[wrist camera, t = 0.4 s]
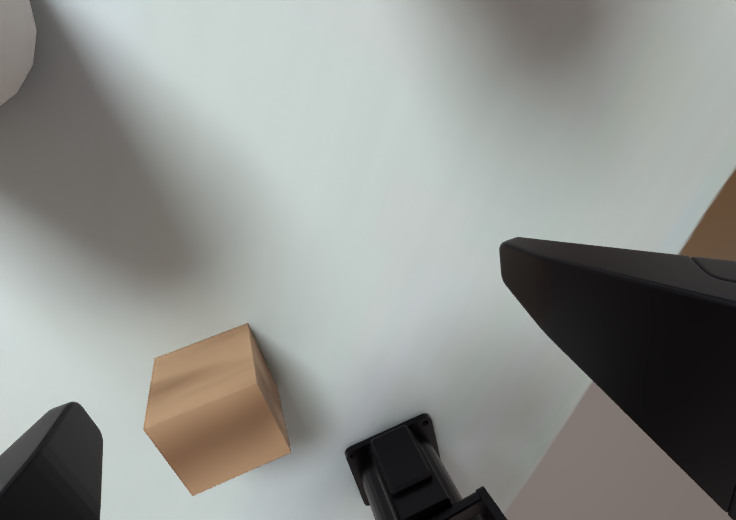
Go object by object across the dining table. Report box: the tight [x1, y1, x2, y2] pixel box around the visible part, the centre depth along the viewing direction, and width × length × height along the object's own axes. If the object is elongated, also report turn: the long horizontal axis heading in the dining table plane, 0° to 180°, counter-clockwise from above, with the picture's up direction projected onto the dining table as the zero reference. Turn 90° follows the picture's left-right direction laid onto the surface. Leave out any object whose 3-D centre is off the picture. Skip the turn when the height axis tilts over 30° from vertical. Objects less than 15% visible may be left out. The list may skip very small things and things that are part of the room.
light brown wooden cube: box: [143, 323, 291, 496], centre depth 22 cm, size 5×5×5 cm
